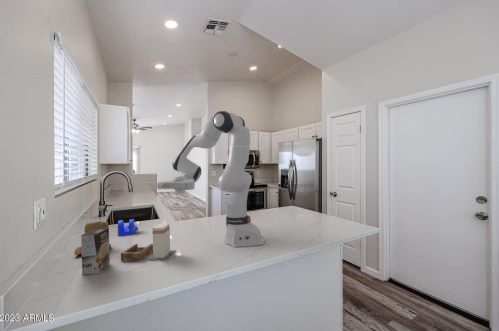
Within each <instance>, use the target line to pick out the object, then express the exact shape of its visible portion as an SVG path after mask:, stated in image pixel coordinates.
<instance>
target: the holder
mask: <svg viewBox="0 0 499 331" xmlns="http://www.w3.org/2000/svg"><path fill="white" fill-rule="evenodd" d="M136 251H137V252H136ZM138 251H140V252H138ZM151 251H152V252H153V243H150V244H149V245H147V246H139V245H138V243H135V244H133V245H132V246H130V247H129V248H127V249H125V250H124V251H122V252H121V253H120V261H121V262H141V261H142V260H143V259H145V258H146V257H147V256H148V255H150V254H151V253H152V252H151ZM150 252H151V253H150ZM149 253H150V254H149ZM145 256H146V257H145ZM144 257H145V258H144ZM140 260H141V261H140Z"/></svg>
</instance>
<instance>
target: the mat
mask: <svg viewBox="0 0 499 331" xmlns="http://www.w3.org/2000/svg"><path fill="white" fill-rule="evenodd" d="M174 253H176V250H174V249H173V250H172V249H170V253H169V254H168V255H166V256H165V257H164V258H153V254H152V255H151V256H149V257H148V258H147V259H146V261H147V260H165V261H164V262H166V260H167V261H168V260H169V259H170V258H171V256H173V254H174Z"/></svg>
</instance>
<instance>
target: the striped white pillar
mask: <svg viewBox="0 0 499 331" xmlns="http://www.w3.org/2000/svg"><path fill="white" fill-rule="evenodd" d="M170 227H171V225H170V223H159V224H157V225H155V226H154V227H152V244H153V251H152V253H153V254H152V255H153V258H164V257H165V256H166V255H168V254H169V253H170V250H171V237H170V236H171V233H170V232H171V231H170V230H171V228H170Z"/></svg>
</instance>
